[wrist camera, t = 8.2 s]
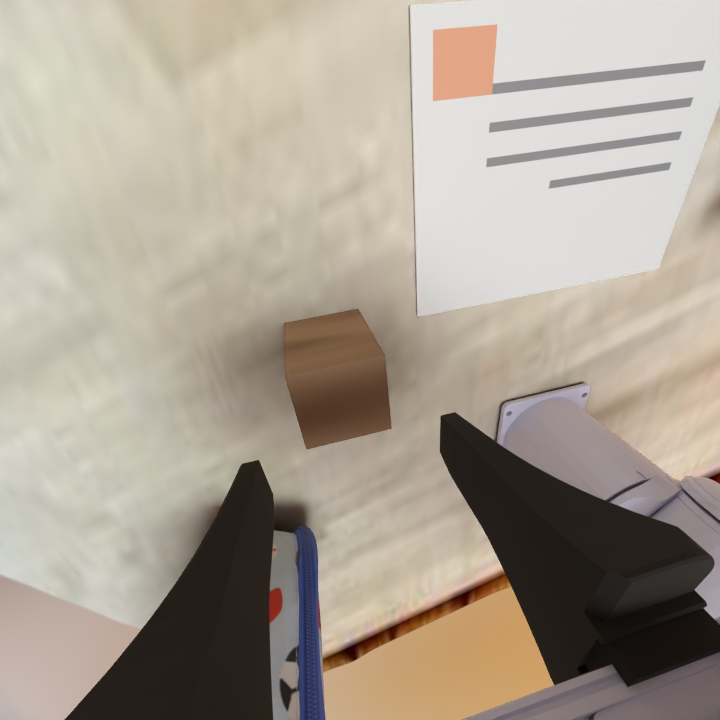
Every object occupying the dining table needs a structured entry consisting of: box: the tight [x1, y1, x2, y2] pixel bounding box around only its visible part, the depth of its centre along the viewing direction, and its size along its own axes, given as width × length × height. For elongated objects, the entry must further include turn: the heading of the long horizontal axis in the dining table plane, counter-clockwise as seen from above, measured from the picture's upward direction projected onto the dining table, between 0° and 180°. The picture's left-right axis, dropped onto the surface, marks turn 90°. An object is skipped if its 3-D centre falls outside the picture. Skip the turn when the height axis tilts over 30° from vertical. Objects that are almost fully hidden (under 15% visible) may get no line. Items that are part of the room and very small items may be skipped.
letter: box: [409, 0, 720, 317], centre depth 18 cm, size 14×18×1 cm
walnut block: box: [284, 309, 392, 449], centre depth 18 cm, size 4×4×6 cm
